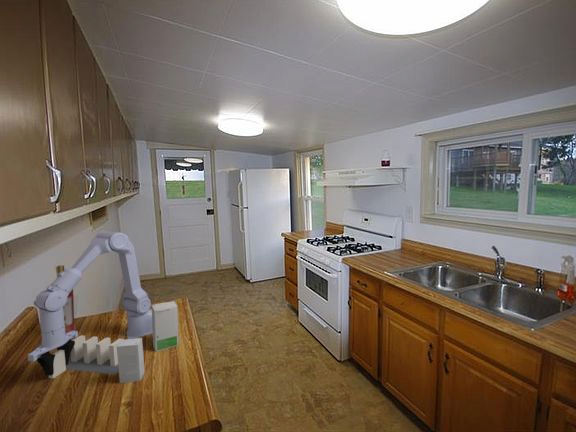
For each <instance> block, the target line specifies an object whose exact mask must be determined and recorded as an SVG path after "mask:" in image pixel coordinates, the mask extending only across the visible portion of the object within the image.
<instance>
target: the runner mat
mask: <svg viewBox="0 0 576 432" xmlns="http://www.w3.org/2000/svg"><path fill="white" fill-rule="evenodd" d="M66 370H70V371H78V372H79V371H80V372H88V373H89V372H90V373H94V374H95V373H97V374H106V375H116V374H118V373H119V367H118V364H117V365H116V366H111V364H110V359H109V360H107V361H106V362H105V363H103V364H102V365H99V364H97V358H95V359H94V360H93V361H91V362H90V363H84V357H82V358H81V359H79V360H78V361H76V362H71V354H70V357H69V362H68V365H67V366H66Z"/></svg>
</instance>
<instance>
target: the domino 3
mask: <svg viewBox="0 0 576 432" xmlns="http://www.w3.org/2000/svg"><path fill="white" fill-rule="evenodd" d="M98 338H99V337H98V336H92V337H90V338H88V339H87V340H85V342H84V343H83V354H84V363H90V362H91V361H93V360H94V359H95V358H97V354H96V344H97V343H98V342H99V339H98Z"/></svg>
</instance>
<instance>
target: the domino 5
mask: <svg viewBox="0 0 576 432" xmlns="http://www.w3.org/2000/svg"><path fill="white" fill-rule="evenodd" d="M122 340H124V338H118V339H116V340H115V341H113V342H111V345H109V351H110V364H111V366H116V365H117V364H118V355H117V346H118V345H119V343H120V342H121V341H122Z"/></svg>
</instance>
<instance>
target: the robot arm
mask: <svg viewBox="0 0 576 432" xmlns="http://www.w3.org/2000/svg"><path fill="white" fill-rule="evenodd" d="M112 252H115V253H117V254H118V258H119V264H120V268H121V273H122V279H123V285H124V289H125V292H124V293H123V294H122V302H121V307H122V309H123V310H125V313H126V319H127V320H126V321H127V323H126V324H127V331H125V332H126V336H127V339H136V338H142V337H144V336H149V335H151V334H152V335H153V329H152V308H151V305H152V301H151V300H150V298H149V296H148V293H147V292H146V291H145V290H144V289H143V288H142V284H141V279H140V275H139V274H140V273H139V269H138V262H137V256H136V252H135V246H134V244H133V243H132V241H131V240H130V239H129V235H128V234H125V233H123V232H120V231H119V232H115V231H114V232H113V231H106V230H104V231H103V230H102V231H100V232H98V233H97V234H96V235H95V236H94V237H93V238H92V239H91V240H90V242H89V245H88V247H87V248H86V249H85V250H84V251H83V253H81V255H80V257H78V259H77V260H76V262H75V263H74V264H73V265H72V266H71V267H70V268H64V271H63V272H62V271H61V272H60V273H59V274H58V275H59V276H58V277H57V276H56V278H55V280H54V281H52V283H51V284H49V285H48V286H47V287H46V289H44V290H42V291H40V292H39V293H38V294H37V295H36V296H35V299H34V301H33V305H34V306H35V307H36V308H38V312H39V322H40V323H39V324H40V333H41V344H40V345H39V346H38V347H36V349H34V350H33V351H32V352H30V353H28V354H27V359H28V362H35V361H36V362H37V363H38V364H39V366H40V367H41V368H42V370H43V372H44V375H46V376H48V375H49V376H51V375H53V373H54V366H53V364H54V358H55V354H54V353H51V351H53V350H55V349H57V351H59V350H64V352H65V364H66V366H67V365H68V362H69V357H70V354H71V351H72V349H73V347H74V345H75V341H72V340H73V339H76V338H77V337H79V333H78V330H74V331H73V330H72V331H70V332H68V333H66V334H65V323H64V313H63V306H64V305H65V304H66V302H67V296H68V294H69V293H70V292H71V291H72V290H73V291H74V289H75V287H76V286H77V285H79V282H81V280H82V278H83V275H82V274H83V272H84V271H85V270H86V269H88V268H89V266H90V265H91V264H92V263H93V262H94V261H95V260H96V259H97V258H98V257H99V256H100V255H104V254H108V253H112ZM150 308H151V309H150ZM49 376H48V377H49Z"/></svg>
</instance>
